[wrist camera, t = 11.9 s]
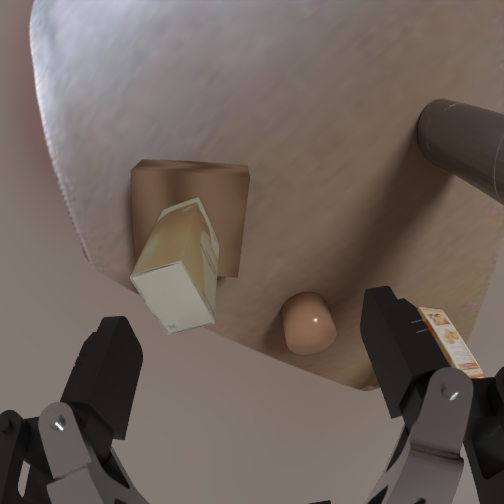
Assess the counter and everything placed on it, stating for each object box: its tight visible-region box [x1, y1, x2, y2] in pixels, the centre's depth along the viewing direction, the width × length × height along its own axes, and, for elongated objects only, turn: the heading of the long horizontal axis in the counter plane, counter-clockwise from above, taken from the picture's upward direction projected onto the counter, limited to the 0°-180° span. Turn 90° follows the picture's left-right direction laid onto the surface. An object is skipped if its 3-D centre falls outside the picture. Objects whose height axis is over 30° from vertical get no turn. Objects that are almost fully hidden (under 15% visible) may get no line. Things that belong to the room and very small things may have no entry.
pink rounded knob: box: [281, 292, 337, 355], centre depth 42 cm, size 7×7×6 cm
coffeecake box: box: [417, 307, 486, 378], centre depth 43 cm, size 15×7×20 cm, turn 166°
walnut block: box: [131, 159, 250, 277], centre depth 34 cm, size 12×12×5 cm
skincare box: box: [130, 198, 219, 335], centre depth 26 cm, size 6×4×12 cm
